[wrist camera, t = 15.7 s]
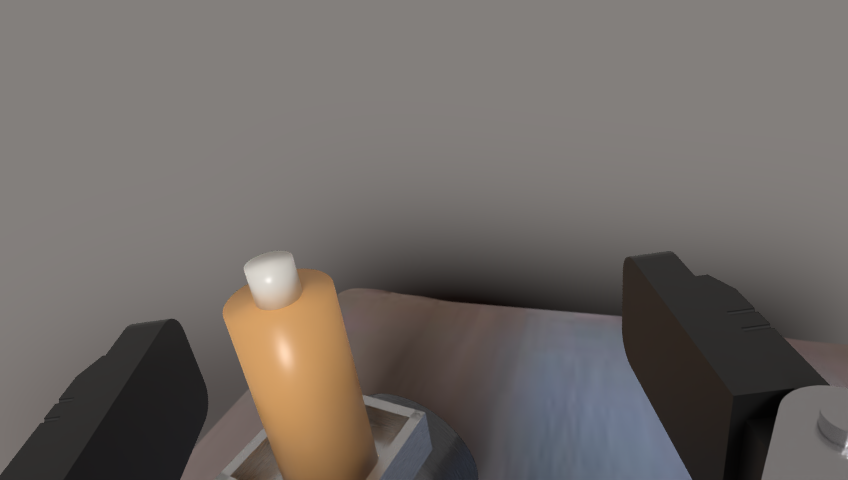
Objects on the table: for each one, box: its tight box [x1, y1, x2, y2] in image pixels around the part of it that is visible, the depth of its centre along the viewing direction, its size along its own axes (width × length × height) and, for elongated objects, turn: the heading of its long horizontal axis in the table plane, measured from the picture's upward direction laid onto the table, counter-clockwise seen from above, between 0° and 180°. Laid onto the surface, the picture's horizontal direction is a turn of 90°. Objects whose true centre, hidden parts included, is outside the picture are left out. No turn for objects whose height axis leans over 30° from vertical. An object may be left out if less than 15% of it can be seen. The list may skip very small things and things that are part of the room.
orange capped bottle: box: [223, 251, 378, 480], centre depth 31 cm, size 6×6×14 cm
